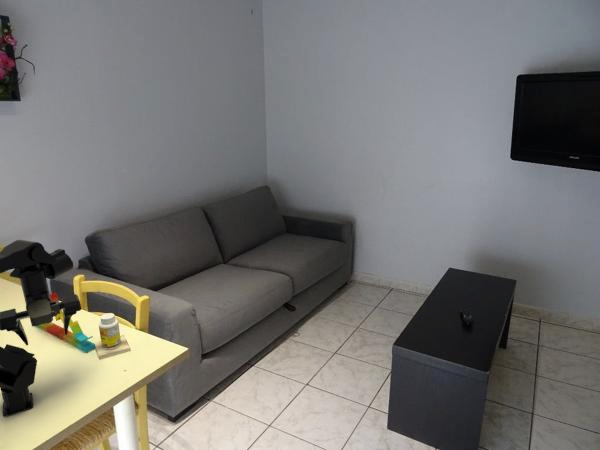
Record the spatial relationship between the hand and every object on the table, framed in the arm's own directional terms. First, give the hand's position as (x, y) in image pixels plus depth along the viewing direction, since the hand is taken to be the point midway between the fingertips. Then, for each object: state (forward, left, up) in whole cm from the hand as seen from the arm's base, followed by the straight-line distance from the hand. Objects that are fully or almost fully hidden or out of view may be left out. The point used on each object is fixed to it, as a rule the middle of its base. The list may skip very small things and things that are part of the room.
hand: (47, 339), depth 121 cm
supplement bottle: (+9, -17, -12) cm, 22 cm away
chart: (+25, -5, -14) cm, 29 cm away
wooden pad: (+9, -17, -13) cm, 23 cm away
